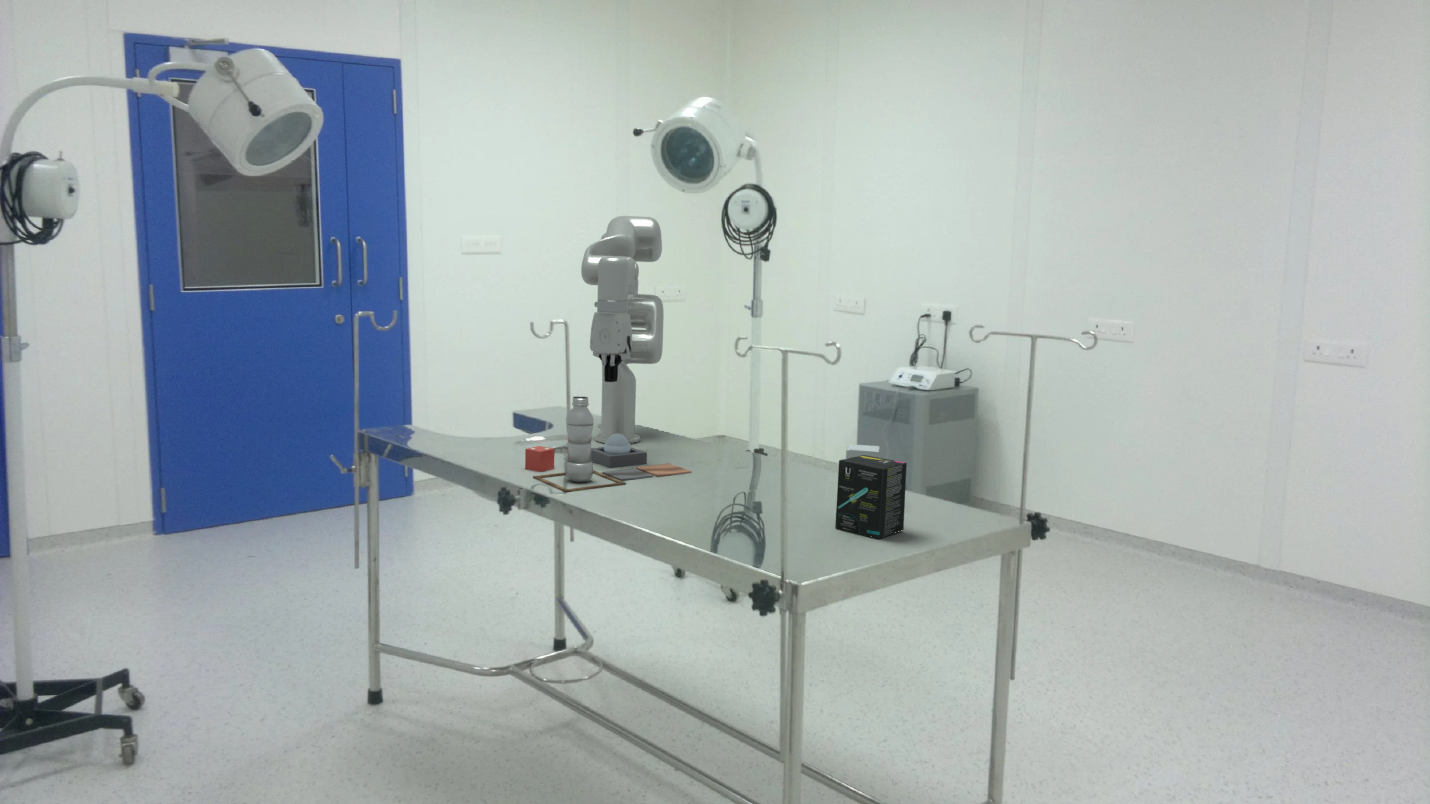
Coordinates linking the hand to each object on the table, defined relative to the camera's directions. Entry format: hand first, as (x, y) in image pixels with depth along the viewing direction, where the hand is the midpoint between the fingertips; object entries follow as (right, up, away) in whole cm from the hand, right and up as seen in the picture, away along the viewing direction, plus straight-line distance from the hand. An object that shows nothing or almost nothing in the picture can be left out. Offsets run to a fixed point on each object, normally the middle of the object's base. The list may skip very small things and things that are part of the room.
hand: (610, 381), depth 265 cm
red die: (-17, -22, -2) cm, 28 cm away
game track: (+2, -23, -8) cm, 24 cm away
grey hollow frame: (+1, -21, +9) cm, 22 cm away
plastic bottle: (-6, -24, -14) cm, 28 cm away
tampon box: (+58, -32, -46) cm, 80 cm away
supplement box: (+59, -28, -23) cm, 69 cm away
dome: (+1, -19, +8) cm, 21 cm away
